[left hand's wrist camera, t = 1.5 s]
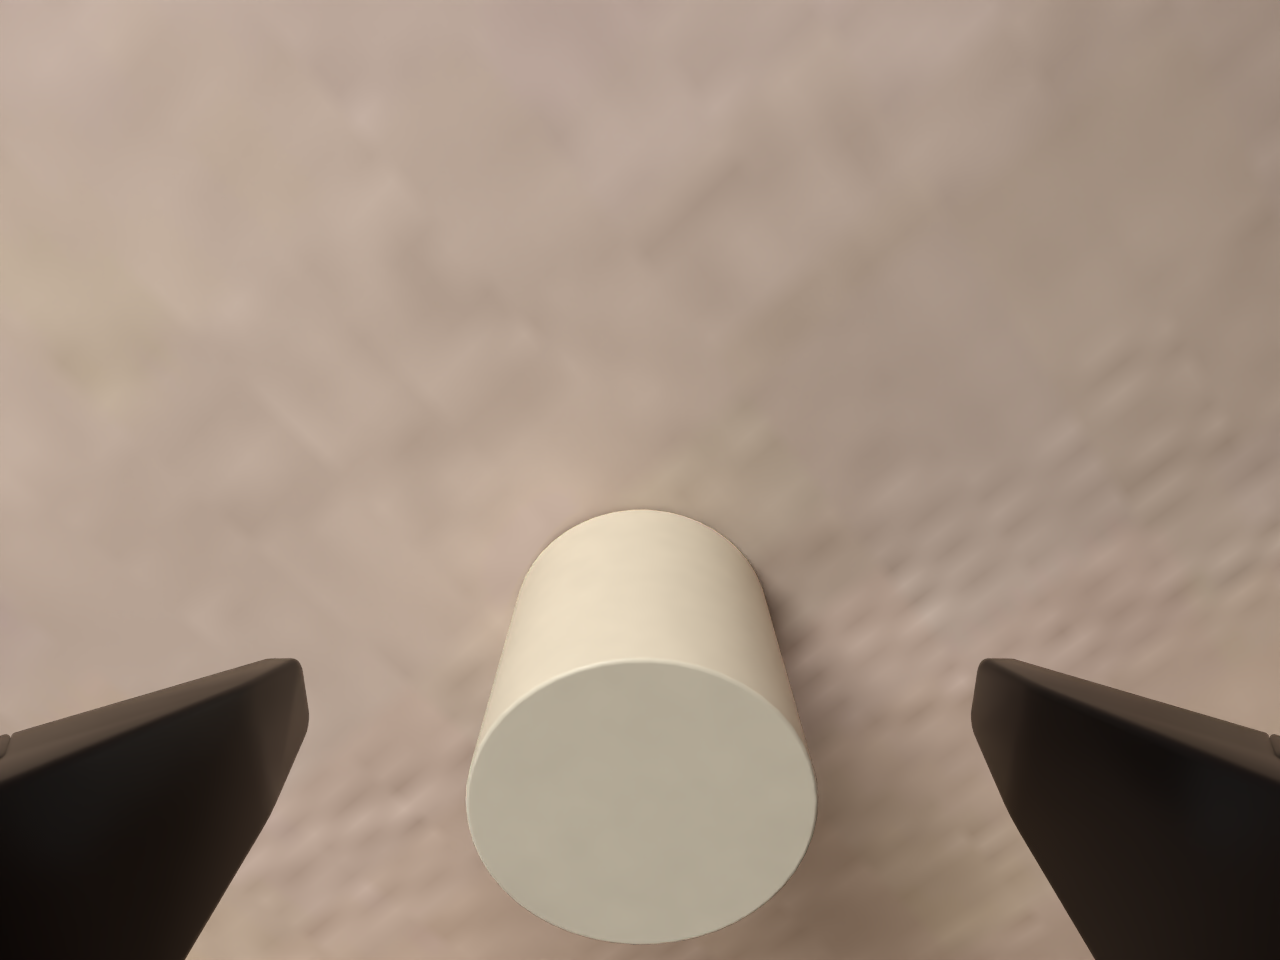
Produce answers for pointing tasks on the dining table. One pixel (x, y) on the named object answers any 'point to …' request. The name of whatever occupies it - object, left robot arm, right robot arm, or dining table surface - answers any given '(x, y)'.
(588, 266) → the dining table surface
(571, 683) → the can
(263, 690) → the left robot arm
